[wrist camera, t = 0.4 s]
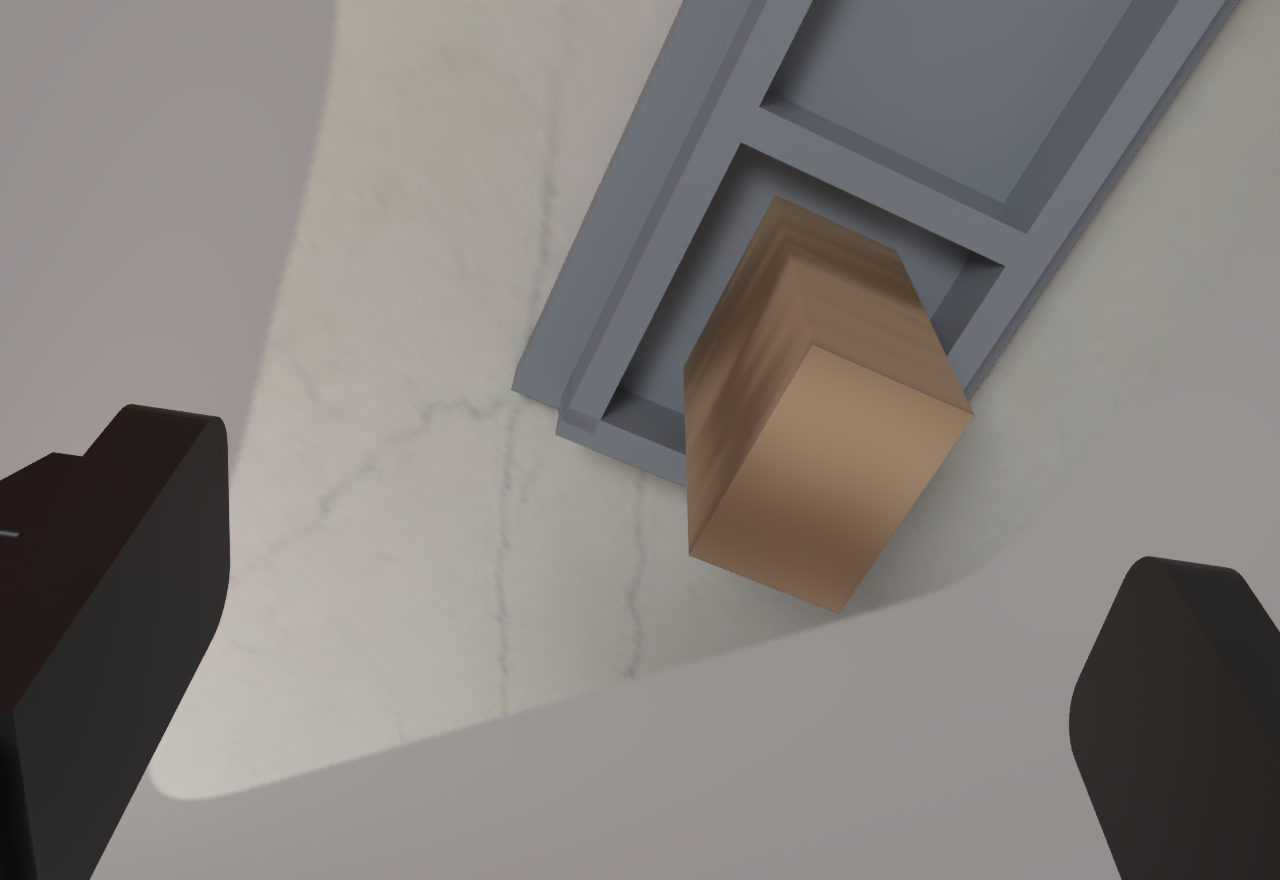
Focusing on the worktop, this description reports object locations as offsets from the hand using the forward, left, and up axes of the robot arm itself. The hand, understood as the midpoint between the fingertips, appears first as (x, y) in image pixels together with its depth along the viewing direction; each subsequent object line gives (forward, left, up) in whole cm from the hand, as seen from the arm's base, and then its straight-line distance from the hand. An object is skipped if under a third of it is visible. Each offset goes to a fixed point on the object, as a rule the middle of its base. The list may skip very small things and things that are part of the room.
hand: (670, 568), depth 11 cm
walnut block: (+6, +7, -24) cm, 26 cm away
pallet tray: (+1, +7, -26) cm, 27 cm away
